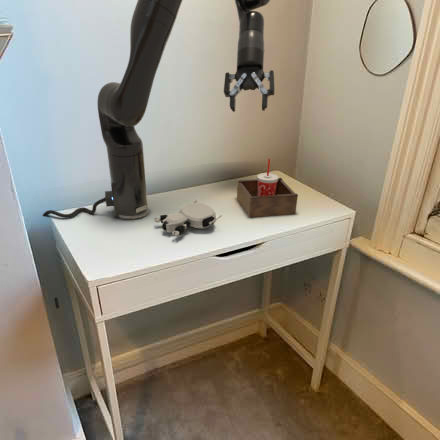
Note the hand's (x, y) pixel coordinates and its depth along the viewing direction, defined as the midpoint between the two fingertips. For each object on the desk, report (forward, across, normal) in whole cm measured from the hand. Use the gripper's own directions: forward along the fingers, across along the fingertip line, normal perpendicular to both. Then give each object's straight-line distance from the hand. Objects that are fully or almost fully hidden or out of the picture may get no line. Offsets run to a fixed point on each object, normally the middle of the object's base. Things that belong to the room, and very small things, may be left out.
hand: (248, 110), depth 123 cm
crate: (+26, +5, +6) cm, 27 cm away
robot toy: (+35, -14, -10) cm, 39 cm away
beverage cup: (+26, +5, +7) cm, 27 cm away
